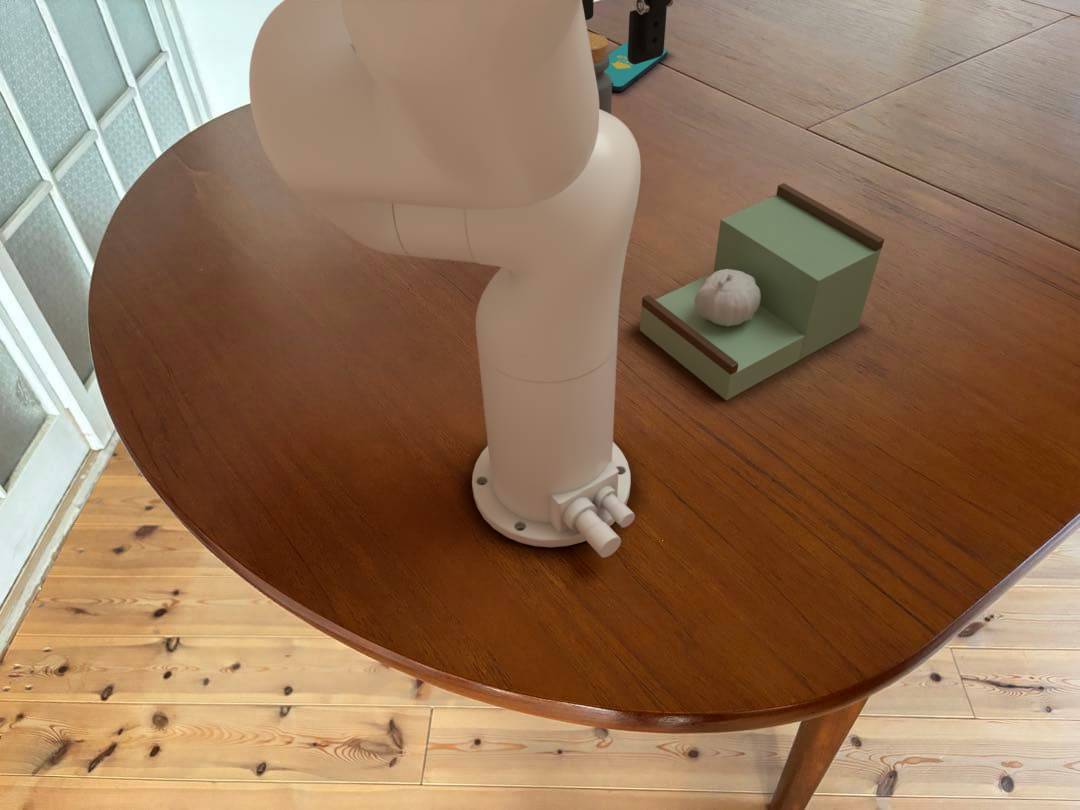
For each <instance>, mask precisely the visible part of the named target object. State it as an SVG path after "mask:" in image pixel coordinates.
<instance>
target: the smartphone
mask: <svg viewBox="0 0 1080 810" xmlns="http://www.w3.org/2000/svg"><path fill="white" fill-rule="evenodd" d="M668 53H669V51H668V50H667V49H666V48H664V52H663V54H662V56H660V57H658V58H654V59H651V60H648V61H645V62H642V63H639V64H635V65H634V64H632V63H630V62H629V61H628V41H626V42H625V43H623V44H621V45H619V47H617V48H615V49H614V50H613V51H611V52H610V53H608V56H609V67H608V68H607V69H606V70H605V71H604V72H605V73H607V74H608V75H609V76H610V77H611V79H612V91H614V92H623V91H624V90H626V89H627V88H628V87H630V86H631V85H632V84H633V83H635V82H636V81H638V80H639V79H640V78H641V77H643V76H644V75H645V74H646V73H647V72H649V71H650V70H651V69H653V68H654V67H655V66H656V65H658V64H659V63H661V62H662V61H663V60H664V59H666V58H667V57H668Z"/></svg>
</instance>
